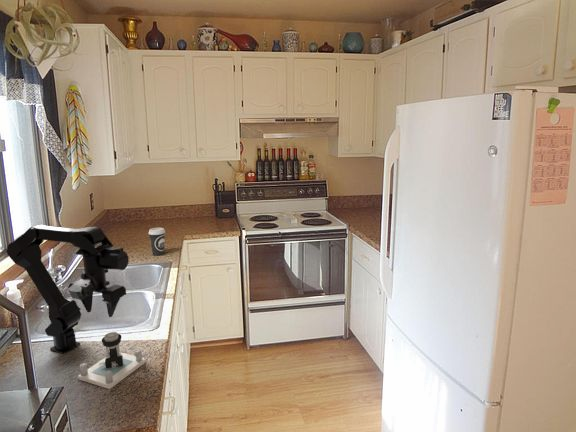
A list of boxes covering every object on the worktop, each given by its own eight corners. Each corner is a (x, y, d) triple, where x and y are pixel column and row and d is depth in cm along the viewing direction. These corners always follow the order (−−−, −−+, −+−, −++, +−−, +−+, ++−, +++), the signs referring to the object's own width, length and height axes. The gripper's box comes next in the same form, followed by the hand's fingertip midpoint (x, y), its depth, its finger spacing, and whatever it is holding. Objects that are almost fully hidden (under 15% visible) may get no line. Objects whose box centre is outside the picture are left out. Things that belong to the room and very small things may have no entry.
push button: (99, 373, 115) (95, 342, 113) (100, 363, 120) (97, 333, 118) (123, 368, 117) (120, 337, 115) (124, 359, 122) (121, 329, 120)
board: (78, 379, 114) (76, 366, 113) (115, 354, 127) (114, 342, 126) (109, 389, 110) (108, 375, 109) (145, 362, 122) (144, 350, 121)
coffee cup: (167, 251, 236) (165, 226, 233) (167, 255, 227) (165, 230, 224) (150, 252, 233) (148, 228, 230) (149, 257, 224) (147, 231, 221)
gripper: (49, 272, 119) (56, 320, 122) (95, 280, 112) (101, 331, 115) (81, 261, 129) (86, 305, 132) (125, 268, 122) (129, 315, 125)
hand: (99, 314), depth 126 cm, fingers open, 9 cm apart
